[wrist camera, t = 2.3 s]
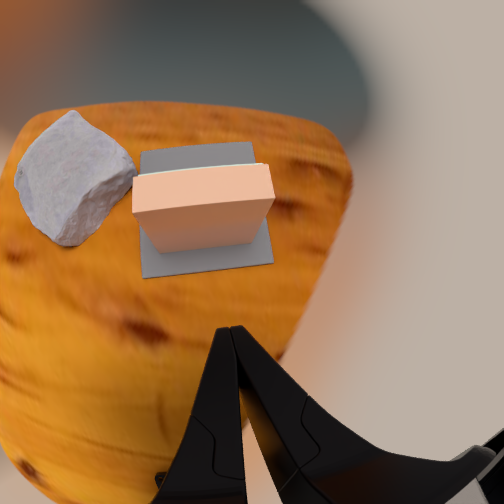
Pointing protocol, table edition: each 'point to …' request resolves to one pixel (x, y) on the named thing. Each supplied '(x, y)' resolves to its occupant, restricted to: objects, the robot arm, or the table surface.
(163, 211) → the tile
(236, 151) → the mat
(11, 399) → the table surface
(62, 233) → the stone block
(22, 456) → the table surface
